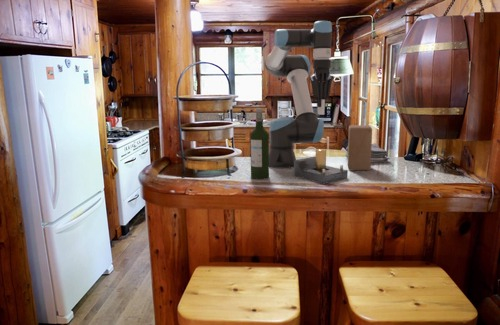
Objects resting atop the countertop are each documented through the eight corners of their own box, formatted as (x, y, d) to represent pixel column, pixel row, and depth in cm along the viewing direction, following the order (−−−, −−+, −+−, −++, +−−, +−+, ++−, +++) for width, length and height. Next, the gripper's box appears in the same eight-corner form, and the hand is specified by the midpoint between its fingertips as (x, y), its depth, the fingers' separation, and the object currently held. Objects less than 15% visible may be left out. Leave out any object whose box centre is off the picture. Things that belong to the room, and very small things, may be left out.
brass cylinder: (313, 176, 173) (313, 149, 171) (320, 175, 176) (320, 148, 173) (320, 178, 170) (321, 151, 167) (327, 177, 172) (328, 149, 170)
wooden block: (370, 171, 182) (372, 127, 178) (348, 170, 184) (349, 127, 180) (368, 166, 192) (370, 125, 188) (347, 165, 194) (348, 124, 190)
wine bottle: (270, 175, 177) (270, 107, 171) (266, 179, 170) (266, 109, 163) (253, 174, 179) (252, 107, 173) (249, 178, 171) (247, 109, 165)
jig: (294, 175, 176) (294, 160, 174) (316, 171, 184) (316, 156, 182) (324, 183, 161) (325, 167, 160) (347, 178, 170) (347, 162, 168)
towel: (344, 158, 213) (344, 144, 211) (376, 157, 215) (377, 142, 214) (354, 164, 198) (355, 148, 197) (389, 162, 200) (390, 147, 199)
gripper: (317, 58, 164) (316, 115, 169) (338, 59, 171) (337, 113, 176) (304, 59, 170) (304, 114, 175) (325, 59, 177) (324, 113, 182)
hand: (320, 114), depth 175 cm, fingers closed
